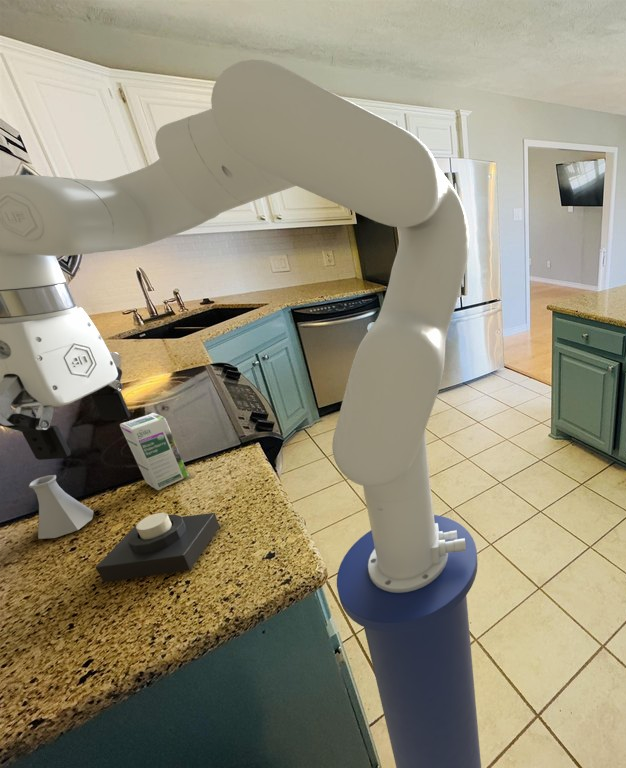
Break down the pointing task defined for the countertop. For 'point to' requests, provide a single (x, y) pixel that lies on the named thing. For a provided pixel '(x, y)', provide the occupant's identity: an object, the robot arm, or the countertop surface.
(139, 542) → the dark grey button base
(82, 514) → the flask
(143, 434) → the syrup box
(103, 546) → the countertop surface
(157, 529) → the white push button
